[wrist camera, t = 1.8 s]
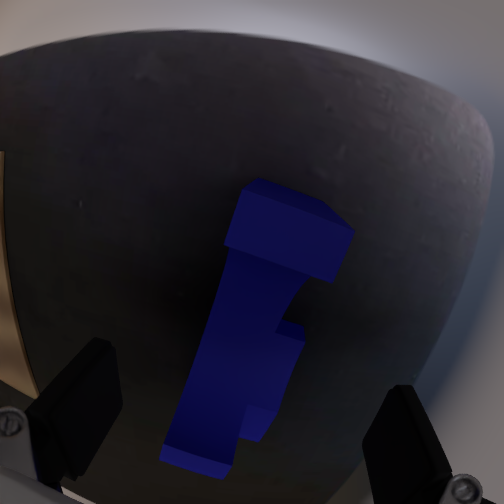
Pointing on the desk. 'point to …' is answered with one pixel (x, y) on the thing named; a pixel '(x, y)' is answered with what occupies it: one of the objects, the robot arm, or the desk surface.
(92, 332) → the desk surface
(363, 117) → the desk surface
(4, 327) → the cork mat
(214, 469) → the blue cradle bracket
